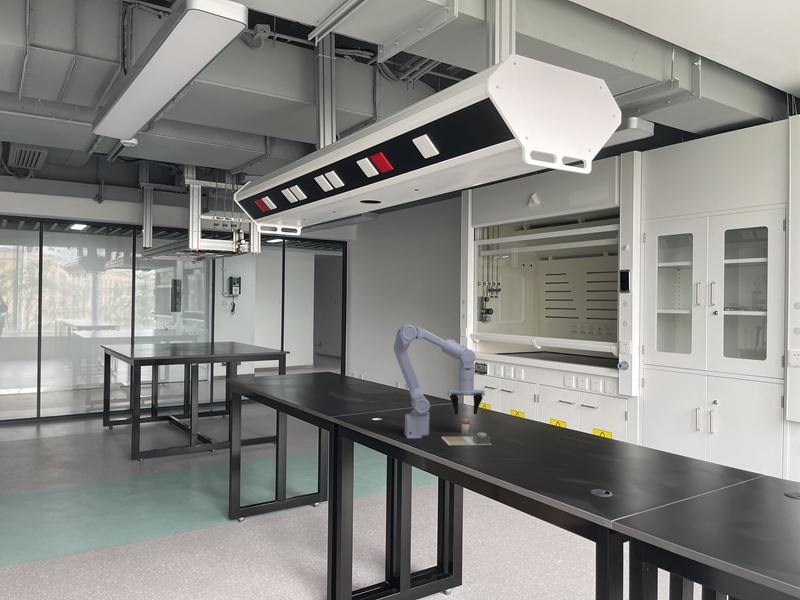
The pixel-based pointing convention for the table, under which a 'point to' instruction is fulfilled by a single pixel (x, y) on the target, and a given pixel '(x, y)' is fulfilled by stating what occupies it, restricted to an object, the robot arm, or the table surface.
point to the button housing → (481, 439)
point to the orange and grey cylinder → (465, 425)
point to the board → (460, 441)
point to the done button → (481, 434)
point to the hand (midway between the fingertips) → (465, 414)
